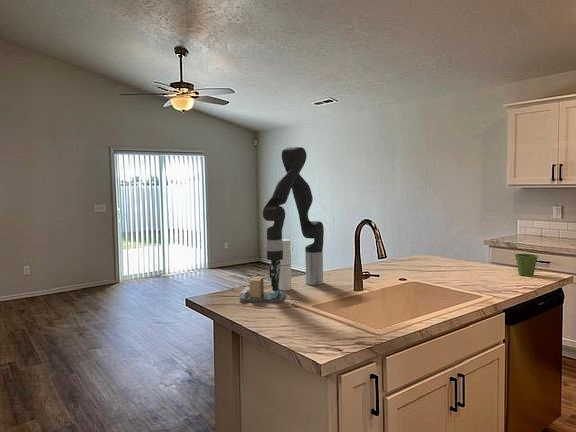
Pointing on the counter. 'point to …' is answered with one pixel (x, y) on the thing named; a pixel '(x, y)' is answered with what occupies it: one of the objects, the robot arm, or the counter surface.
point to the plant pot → (526, 264)
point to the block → (256, 287)
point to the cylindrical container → (285, 266)
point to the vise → (264, 298)
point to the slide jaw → (275, 289)
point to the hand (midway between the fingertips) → (275, 284)
